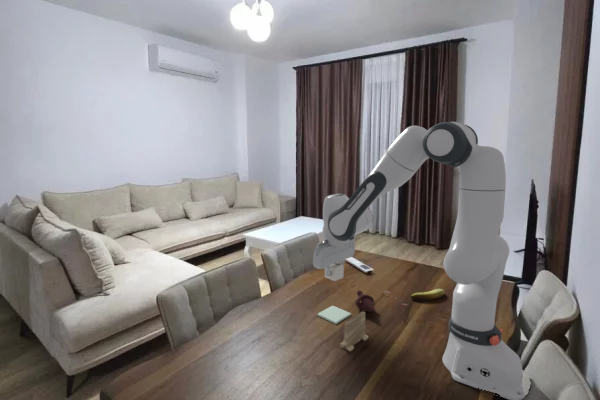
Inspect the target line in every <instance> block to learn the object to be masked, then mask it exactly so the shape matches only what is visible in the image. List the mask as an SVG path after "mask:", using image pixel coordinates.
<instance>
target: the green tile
mask: <svg viewBox="0 0 600 400" xmlns="http://www.w3.org/2000/svg"><path fill="white" fill-rule="evenodd" d="M317 316H318V317H320V318H322V319H324V320H326V321H328V322H330V323H332V324H334V325H337V324H339V323H340V322H342V321H344V320H346V319H347V318H349V317H350V316H352V313H351V312H348V311H347V310H344V309H341V308H339V307H337V306H334V305H331V306H329V307H327V308H325V309H324V310H322V311H320V312H318V313H317Z"/></svg>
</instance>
